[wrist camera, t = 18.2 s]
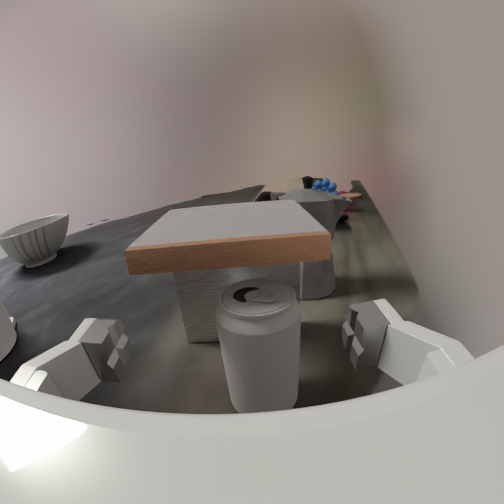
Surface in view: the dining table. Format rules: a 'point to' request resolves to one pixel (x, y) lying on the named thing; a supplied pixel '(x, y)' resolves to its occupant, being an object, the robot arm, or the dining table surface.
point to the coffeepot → (327, 214)
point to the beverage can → (260, 344)
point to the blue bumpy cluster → (326, 186)
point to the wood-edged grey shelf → (227, 253)
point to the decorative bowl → (36, 240)
